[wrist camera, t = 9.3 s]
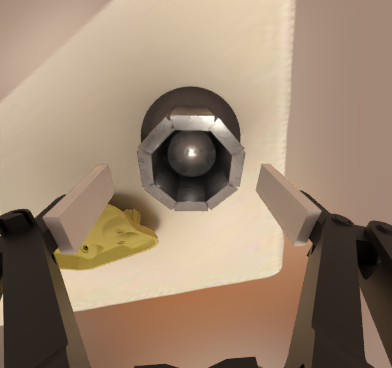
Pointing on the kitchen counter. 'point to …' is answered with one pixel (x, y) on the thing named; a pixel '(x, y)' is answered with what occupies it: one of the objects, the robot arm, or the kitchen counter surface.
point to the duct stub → (190, 139)
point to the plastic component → (110, 240)
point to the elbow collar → (184, 185)
